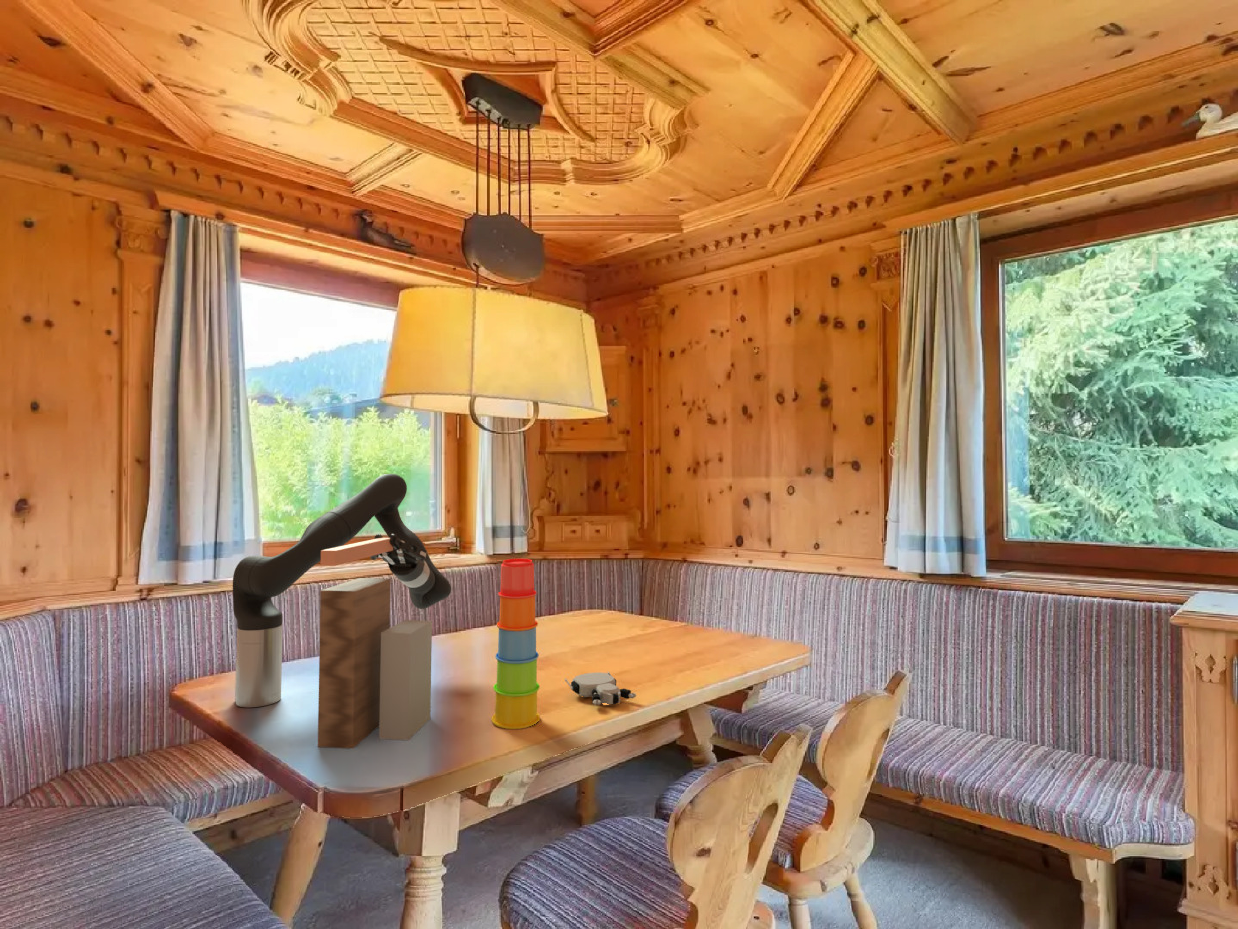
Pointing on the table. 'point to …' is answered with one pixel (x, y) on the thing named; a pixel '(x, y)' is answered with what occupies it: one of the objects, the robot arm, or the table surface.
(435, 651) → the table surface
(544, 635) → the table surface
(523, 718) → the stacking cups
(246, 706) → the robot arm
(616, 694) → the robot toy
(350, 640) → the walnut post
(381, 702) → the taupe pedestal
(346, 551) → the terracotta bar
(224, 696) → the table surface
